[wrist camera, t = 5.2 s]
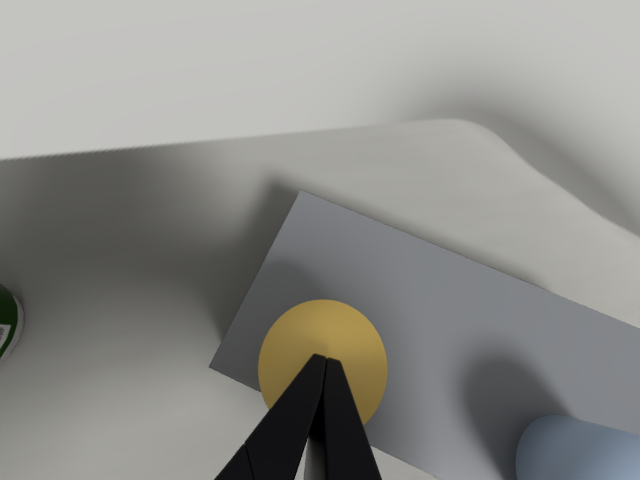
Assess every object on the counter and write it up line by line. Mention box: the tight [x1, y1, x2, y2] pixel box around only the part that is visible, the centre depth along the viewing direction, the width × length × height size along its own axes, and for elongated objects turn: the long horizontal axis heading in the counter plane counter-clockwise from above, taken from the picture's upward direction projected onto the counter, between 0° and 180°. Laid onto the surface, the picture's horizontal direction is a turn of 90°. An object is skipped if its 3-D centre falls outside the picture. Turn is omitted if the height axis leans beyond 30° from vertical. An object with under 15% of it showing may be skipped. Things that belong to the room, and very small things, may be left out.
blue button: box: [515, 415, 640, 480], centre depth 11 cm, size 4×4×6 cm
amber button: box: [258, 299, 388, 425], centre depth 12 cm, size 4×4×6 cm
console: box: [209, 190, 640, 480], centre depth 15 cm, size 18×9×4 cm, turn 67°
